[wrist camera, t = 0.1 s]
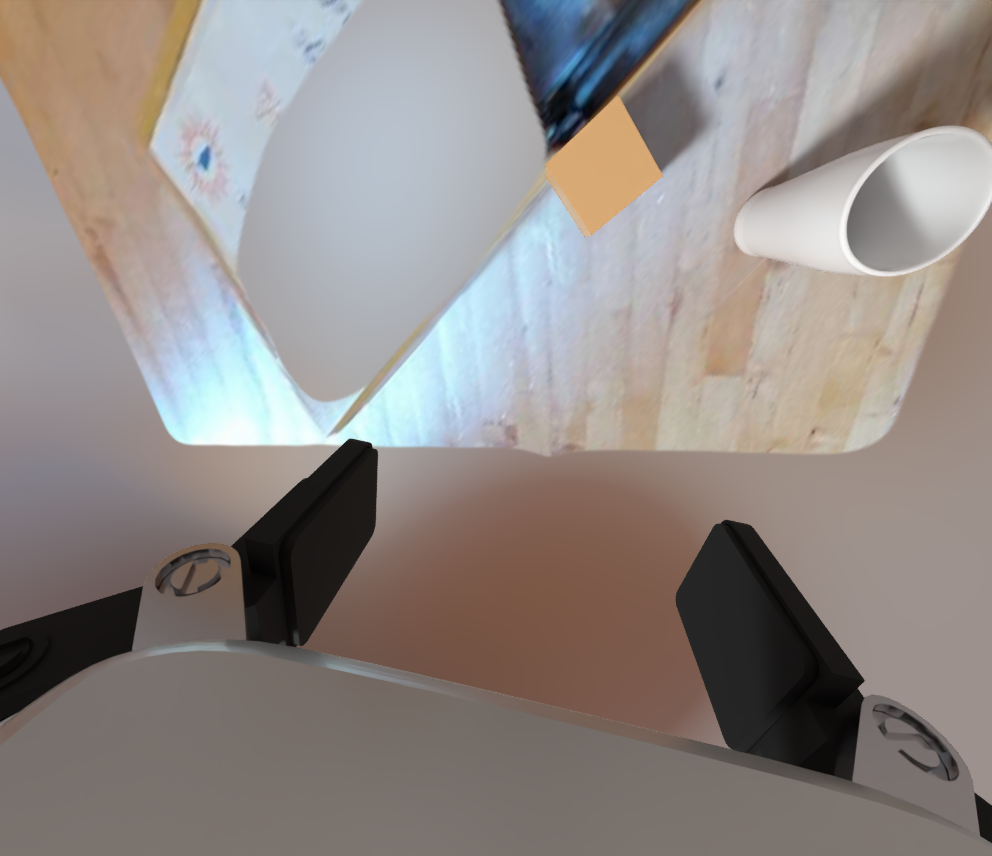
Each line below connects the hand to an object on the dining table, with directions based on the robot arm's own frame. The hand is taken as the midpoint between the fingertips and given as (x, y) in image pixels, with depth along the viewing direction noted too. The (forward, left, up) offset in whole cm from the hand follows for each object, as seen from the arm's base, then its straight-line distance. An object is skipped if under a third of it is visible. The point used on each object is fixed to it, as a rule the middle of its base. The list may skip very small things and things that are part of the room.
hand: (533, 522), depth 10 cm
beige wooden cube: (-10, -7, -31) cm, 33 cm away
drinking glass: (-20, +5, -31) cm, 37 cm away
